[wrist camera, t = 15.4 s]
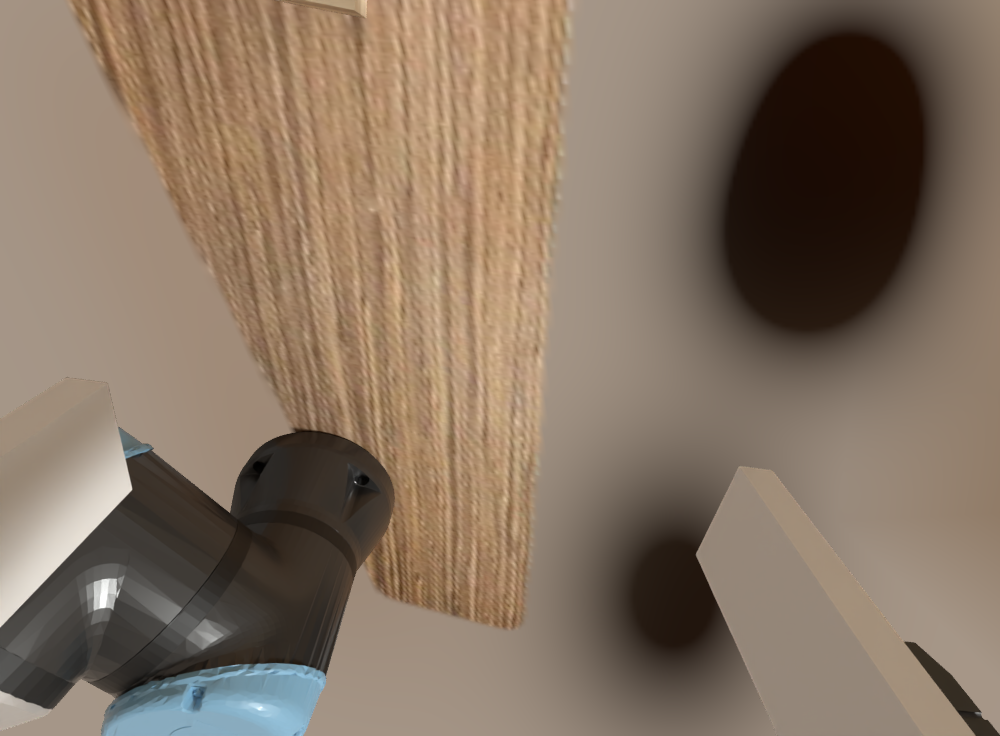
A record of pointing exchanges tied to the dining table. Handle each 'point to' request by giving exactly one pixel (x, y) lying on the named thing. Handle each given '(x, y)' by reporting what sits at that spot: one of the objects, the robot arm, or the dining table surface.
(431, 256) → the dining table surface
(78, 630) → the robot arm
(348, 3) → the riser
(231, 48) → the dining table surface
